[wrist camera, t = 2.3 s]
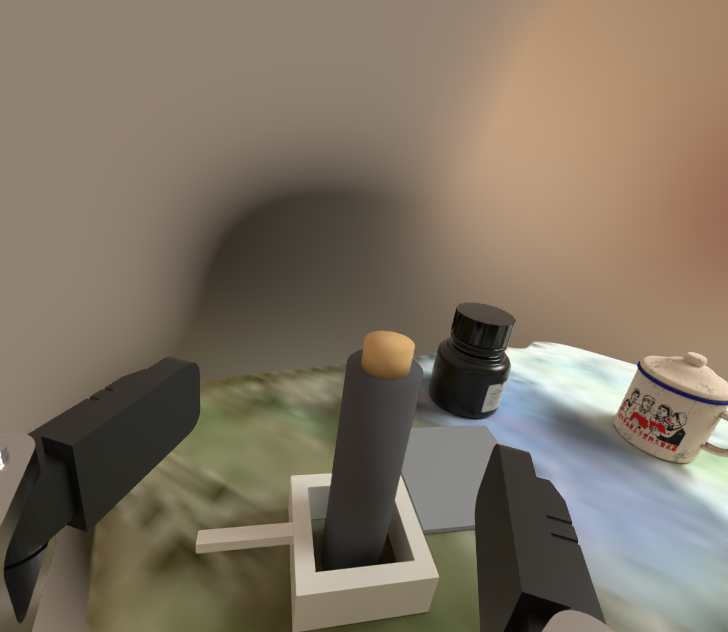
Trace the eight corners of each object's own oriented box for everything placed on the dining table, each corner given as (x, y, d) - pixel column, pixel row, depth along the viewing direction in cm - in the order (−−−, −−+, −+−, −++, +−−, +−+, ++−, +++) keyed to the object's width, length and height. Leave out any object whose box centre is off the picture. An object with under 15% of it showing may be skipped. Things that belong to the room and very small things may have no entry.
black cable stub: (373, 525, 31) (414, 326, 24) (387, 581, 27) (441, 362, 20) (318, 530, 29) (344, 323, 23) (324, 590, 26) (358, 361, 19)
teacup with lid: (595, 422, 48) (632, 340, 44) (635, 409, 53) (673, 333, 48) (705, 496, 39) (767, 401, 34) (743, 473, 43) (803, 386, 39)
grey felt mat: (484, 429, 44) (485, 425, 44) (551, 521, 33) (553, 517, 33) (384, 432, 41) (385, 428, 41) (422, 534, 30) (424, 530, 30)
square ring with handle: (392, 500, 33) (399, 469, 32) (428, 611, 25) (439, 577, 24) (209, 514, 29) (208, 480, 28) (184, 649, 22) (181, 611, 20)
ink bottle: (502, 429, 44) (534, 337, 40) (427, 413, 45) (449, 321, 41) (491, 385, 53) (515, 306, 49) (428, 372, 54) (446, 293, 50)
